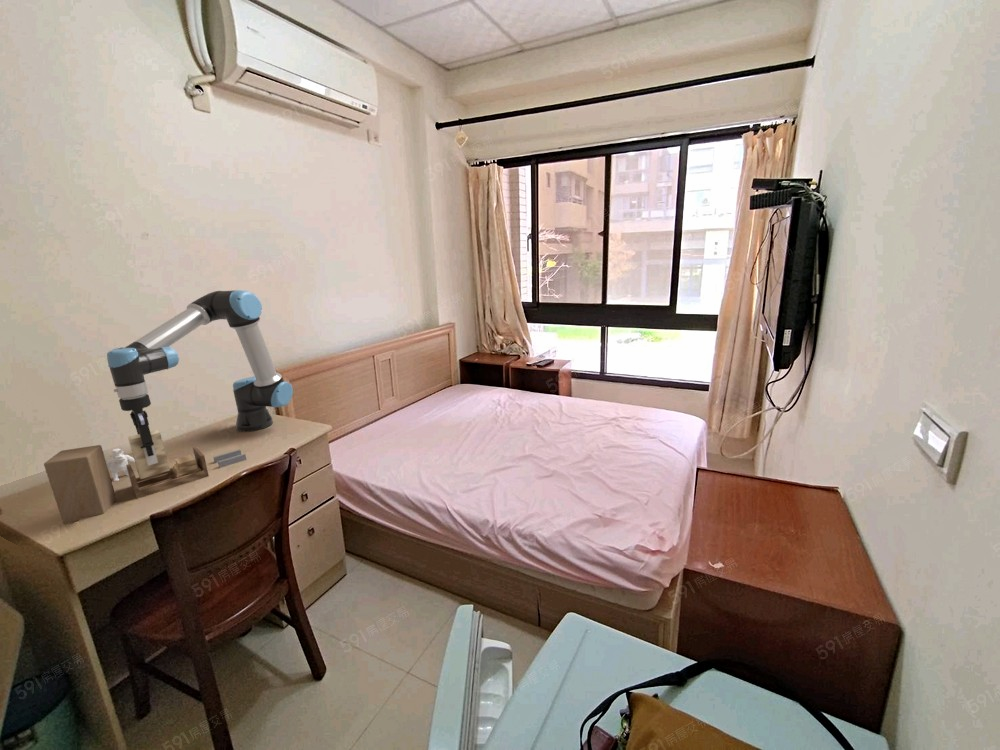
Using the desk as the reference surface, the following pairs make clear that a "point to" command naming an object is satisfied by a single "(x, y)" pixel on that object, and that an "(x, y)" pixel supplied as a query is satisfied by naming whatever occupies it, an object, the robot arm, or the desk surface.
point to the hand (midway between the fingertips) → (151, 461)
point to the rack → (166, 478)
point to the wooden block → (80, 483)
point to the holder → (229, 458)
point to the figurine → (118, 463)
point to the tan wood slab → (141, 459)
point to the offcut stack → (185, 466)
